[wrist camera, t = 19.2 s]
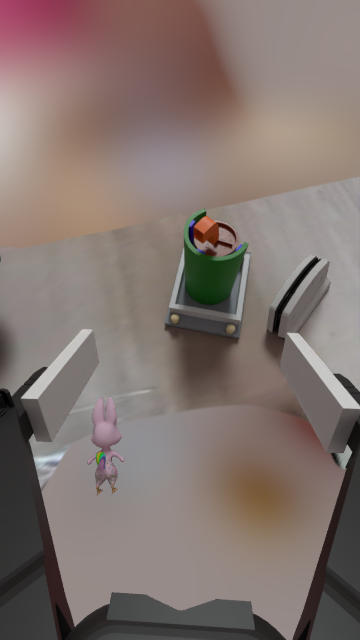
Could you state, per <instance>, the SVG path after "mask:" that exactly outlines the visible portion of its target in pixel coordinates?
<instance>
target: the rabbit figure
mask: <svg viewBox="0 0 360 640" xmlns="http://www.w3.org/2000/svg"><path fill="white" fill-rule="evenodd" d="M105 418H106V421H104V405H103V398H102V397H101V398H100V399H99V400H98V402H97V403H96V405H95V407H94V410H93V415H92V420H93V423H94V425H95V430H94V433H93V436H92V438H91V440H92V442H93V443H94V444H95V445H96V446H98V447H101V448H102V450H101V451H100V452H98V453H96V454H95V455H94V456H92V457H91V458H90V460H89V461H88V462H87V464H91V462H92V461H93V460H94V459H95V458H96V462H97V464H98V467H97V469H96V472H95V477H96V489H97V492H98V493H97V495H98V494H99V493H100V492H101V491H102V490H101V489H99V486H100V485H101V484H102V483H103V482H104V481H105V479H107V480H108V481H109V483H110V485H111V487H112V493H114V492H115V491H116V488H114V489H113V486H114V483H115V481H116V479H117V470H116V468H115V466H114V465H113V463H112V457H113V456H115V457H118V458H119V459H120V461H121V462H124V458H123V457H122V456H121V455H120V454H118V453H117V452H115V451H112V450H110V446H112V445H114V444H116V443H118V441H120V439H121V435H120V433H119V431H118V429H117V427H116V420H117V415H116V410H115V406H114V403H113V400H112V398H111V397H109V398H108V402H107V405H106V417H105Z"/></svg>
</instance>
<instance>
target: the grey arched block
mask: <svg viewBox="0 0 360 640" xmlns="http://www.w3.org/2000/svg"><path fill="white" fill-rule="evenodd" d="M329 262H330V261H328V260H326V259H324V258H322V259H319V260H318V258H317V256H308V257H307V258H306V259H305V260H304V261H303V262H302V263H301V264H300V265H299V266H298V267H297V268H296V269H295V271H294V272H293V273H292V274H291V276H290V277H289V278H288V280H287V281H286V282H285V284H284V285H283V287H282V288H281V290H280V291H279V293H278V294H277V296H276V298H275V299H274V301H273V302H272V304H271V306H270V309H269V316H268V325H267V329H268V330H269V331H270V332H271V333H272V332H275V331H276V329H277V334H278V336H279V337H282V338H285V339H286V334H287V333H297V332H298V331H299V329H300V328H301V326H302V325H303V324H304V322H305V321H306V319H307V318H308V317H309V315H310V314H311V312H312V311H313V310H314V308H315V307H316V305H317V304H318V302H319V301H320V300H321V298H322V297H323V295H324V294H325V293H326V291H327V290H328V288H329V286H330V283H331V282H330V281H329V279H328V278H327V272H328V267H329Z"/></svg>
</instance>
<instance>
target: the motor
mask: <svg viewBox="0 0 360 640" xmlns="http://www.w3.org/2000/svg"><path fill="white" fill-rule="evenodd" d="M238 240H239V238H238V234H237V232H236V230H235V229H234V228H233V227H232V226H231V225H229V224H228V223H225V222H222V221H213V220H212V219H210V218H209V217H207V216H206V210H205V209H202V210H199V211H197V212H196V213H194V214H193V215H192V216H191V217H190V218H189V219H188V221H187V222H186V224H185V227H184V268H185V288H186V291H187V293H188V295H189V296H190V297H191V298H192V299H193V300H194V301H196V302H198V303H200V304H204V305H215V304H218V303H221V302H223V301H224V300H225V299H227V298H228V296H229V295H230V293H231V291H232V288H233V286H234V283H235V280H236V277H237V274H238V272H239V269H240V266H241V263H242V261H243V258H244V255H245V252H246V250H247V247H248V243H245V242H244V244H243V245H240V246H239V247H238V248H237V245H238ZM236 248H237V249H236Z"/></svg>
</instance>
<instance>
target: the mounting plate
mask: <svg viewBox="0 0 360 640" xmlns="http://www.w3.org/2000/svg"><path fill="white" fill-rule="evenodd" d="M250 255H251V252H245V255H244V258H243V261H242V263H241V266H240V269H239V272H238V274H237V277H236V280H235V283H234V286H233V288H232V291H231V293H230V295H229V296H228V298H227V299H225V300H224V301H223V302H221V303H218V304H215V305H204V304H200V303H198V302H196V301H194V300H193V299H192V298H191V297H190V296H189V295H188V293H187V291H186V288H185V268H184V248H183V252H182V256H181V260H180V264H179V268H178V272H177V276H176V280H175V284H174V288H173V292H172V296H171V300H170V304H169V308H168V312H167V316H166V320H165V325H168V326H174V327H179V328H184V329H189V330H194V331H200V332H205V333H210V334H215V335H220V336H226V337H231V338H236V339H238V338H239V335H240V328H241V320H242V313H243V306H244V298H245V291H246V284H247V277H248V269H249V262H250Z"/></svg>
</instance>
